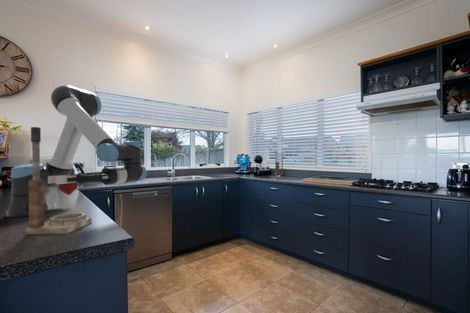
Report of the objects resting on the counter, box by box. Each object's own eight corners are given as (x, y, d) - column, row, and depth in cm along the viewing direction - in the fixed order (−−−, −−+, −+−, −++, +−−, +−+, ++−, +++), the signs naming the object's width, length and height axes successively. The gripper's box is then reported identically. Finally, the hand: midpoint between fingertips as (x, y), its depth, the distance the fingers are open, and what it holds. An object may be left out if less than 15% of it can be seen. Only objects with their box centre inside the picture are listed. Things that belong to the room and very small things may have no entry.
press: (57, 222, 97) (56, 131, 97) (91, 222, 97) (90, 130, 97) (26, 233, 83) (25, 126, 83) (65, 233, 83) (64, 126, 83)
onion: (68, 196, 88) (68, 174, 88) (55, 195, 89) (54, 174, 89) (81, 193, 94) (81, 173, 94) (68, 193, 95) (68, 173, 95)
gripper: (126, 184, 102) (64, 192, 82) (102, 183, 112) (41, 189, 92) (125, 167, 102) (64, 170, 82) (101, 166, 112) (41, 169, 92)
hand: (52, 180), depth 87 cm, fingers closed on onion, 5 cm apart
